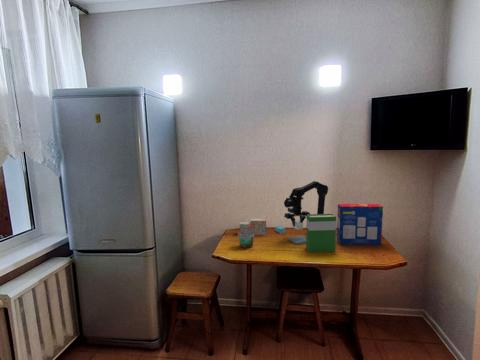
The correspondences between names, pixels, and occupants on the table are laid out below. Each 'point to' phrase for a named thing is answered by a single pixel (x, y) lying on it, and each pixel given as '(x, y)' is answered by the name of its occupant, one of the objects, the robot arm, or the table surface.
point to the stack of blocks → (254, 227)
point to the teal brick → (280, 229)
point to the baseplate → (298, 240)
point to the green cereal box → (321, 232)
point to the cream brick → (298, 225)
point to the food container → (245, 240)
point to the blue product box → (359, 224)
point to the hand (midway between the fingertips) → (297, 226)
